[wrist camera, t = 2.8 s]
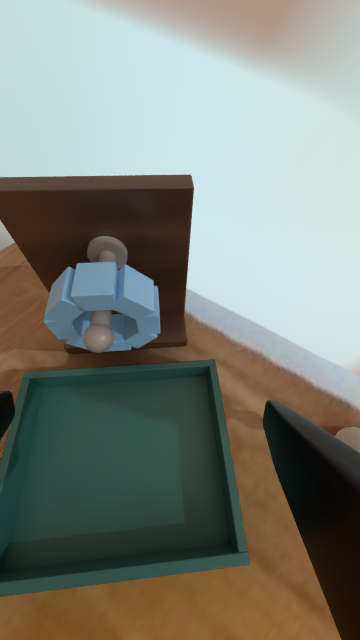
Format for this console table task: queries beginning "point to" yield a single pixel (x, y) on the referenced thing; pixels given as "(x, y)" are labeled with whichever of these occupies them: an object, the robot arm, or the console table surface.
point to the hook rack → (107, 237)
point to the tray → (117, 478)
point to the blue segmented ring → (104, 304)
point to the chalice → (350, 437)
